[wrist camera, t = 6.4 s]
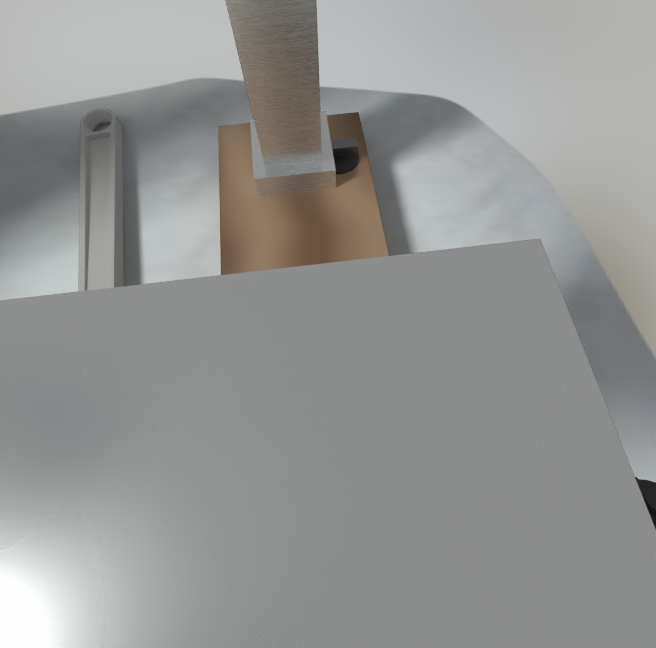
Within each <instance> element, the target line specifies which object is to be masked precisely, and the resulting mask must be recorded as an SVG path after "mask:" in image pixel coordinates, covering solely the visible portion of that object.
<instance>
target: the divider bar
mask: <svg viewBox="0 0 656 648" xmlns="http://www.w3.org/2000/svg"><path fill="white" fill-rule="evenodd" d="M327 121H328V127H329V133H330V139H331V141H334V140H344V139H354V138H357V142H358V154H352V155H342V156H333V157H334V163H335V169H336V188H332V189H322V190H313V191H304V192H295V193H285V194H276V195H267V196H258V192H257V189H256V186H255V182H254V177H253V161H252V144H251V128H250V123H248V124H238V125H228V126H218V129H219V186H220V243H221V275H228V274H236V273H245V272H254V271H262V270H271V269H280V268H289V267H297V266H306V265H315V264H323V263H332V262H341V261H350V260H358V259H367V258H376V257H385V256H389V254H388V249H387V244H386V240H385V235H384V230H383V225H382V221H381V216H380V211H379V207H378V202H377V197H376V193H375V188H374V183H373V179H372V174H371V169H370V165H369V160H368V155H367V150H366V146H365V141H364V136H363V132H362V127H361V122H360V118H359V113H358V112H356V113H346V114H337V115H327Z"/></svg>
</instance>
